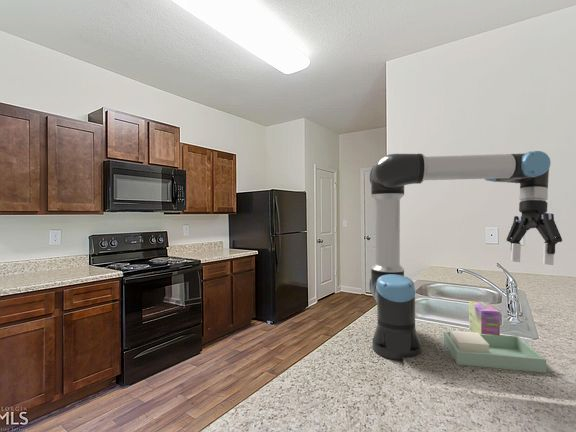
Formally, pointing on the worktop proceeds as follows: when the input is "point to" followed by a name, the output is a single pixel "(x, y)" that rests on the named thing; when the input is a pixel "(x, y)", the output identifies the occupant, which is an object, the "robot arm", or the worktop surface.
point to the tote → (499, 354)
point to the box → (483, 318)
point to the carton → (469, 342)
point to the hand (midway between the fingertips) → (530, 263)
